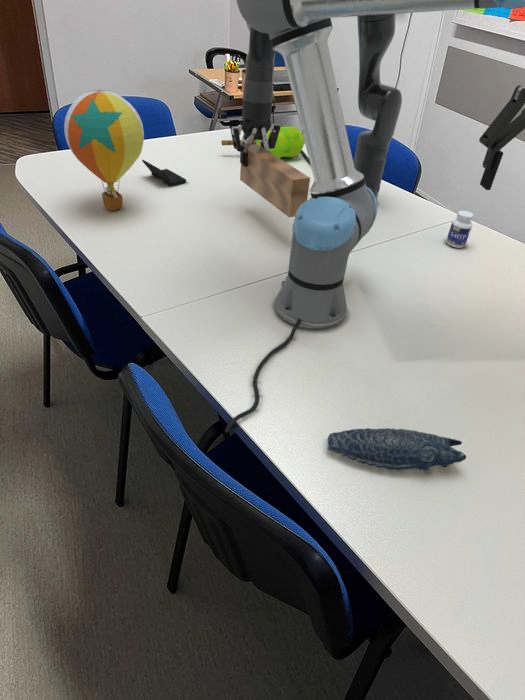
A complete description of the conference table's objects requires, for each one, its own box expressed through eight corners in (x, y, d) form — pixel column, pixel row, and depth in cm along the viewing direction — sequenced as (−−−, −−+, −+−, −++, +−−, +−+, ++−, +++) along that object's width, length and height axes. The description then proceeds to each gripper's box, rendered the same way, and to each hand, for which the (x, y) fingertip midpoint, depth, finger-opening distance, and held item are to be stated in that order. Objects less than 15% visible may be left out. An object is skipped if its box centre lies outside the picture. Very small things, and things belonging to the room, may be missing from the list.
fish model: (464, 484, 79) (474, 462, 76) (325, 466, 80) (330, 444, 77) (456, 450, 84) (465, 429, 81) (326, 434, 85) (331, 412, 82)
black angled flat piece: (190, 175, 164) (173, 153, 156) (179, 193, 163) (161, 172, 155) (166, 170, 170) (147, 148, 162) (155, 188, 169) (136, 167, 161)
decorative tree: (218, 120, 186) (299, 120, 191) (218, 150, 192) (297, 149, 197) (225, 135, 172) (312, 134, 177) (225, 166, 178) (309, 165, 184)
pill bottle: (444, 245, 142) (454, 215, 137) (446, 237, 146) (456, 207, 141) (464, 249, 141) (475, 219, 135) (465, 241, 145) (476, 212, 139)
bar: (305, 214, 131) (310, 177, 125) (289, 217, 128) (293, 180, 123) (255, 177, 148) (257, 144, 142) (239, 179, 145) (241, 145, 140)
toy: (64, 203, 145) (44, 85, 127) (127, 189, 156) (117, 79, 137) (97, 229, 134) (80, 105, 116) (162, 213, 145) (156, 96, 126)
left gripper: (628, 55, 85) (571, 182, 98) (486, 45, 82) (446, 178, 95) (660, 65, 79) (595, 198, 93) (509, 54, 76) (463, 194, 89)
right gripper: (275, 93, 137) (269, 158, 147) (225, 95, 131) (223, 162, 141) (289, 100, 131) (282, 167, 142) (238, 103, 126) (235, 172, 136)
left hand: (519, 188), depth 94 cm, fingers open, 13 cm apart
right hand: (253, 164), depth 142 cm, fingers closed on bar, 5 cm apart
